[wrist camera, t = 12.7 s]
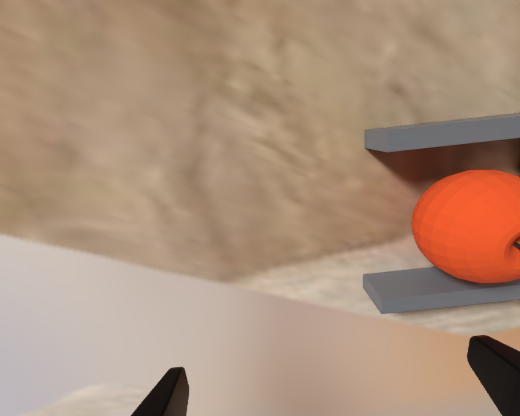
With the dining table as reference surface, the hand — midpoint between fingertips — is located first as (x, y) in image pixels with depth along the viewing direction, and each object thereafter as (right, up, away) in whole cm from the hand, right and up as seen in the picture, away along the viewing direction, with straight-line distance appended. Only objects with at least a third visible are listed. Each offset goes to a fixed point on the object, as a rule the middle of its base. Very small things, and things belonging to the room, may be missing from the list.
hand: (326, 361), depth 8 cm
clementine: (+12, +5, +11) cm, 17 cm away
